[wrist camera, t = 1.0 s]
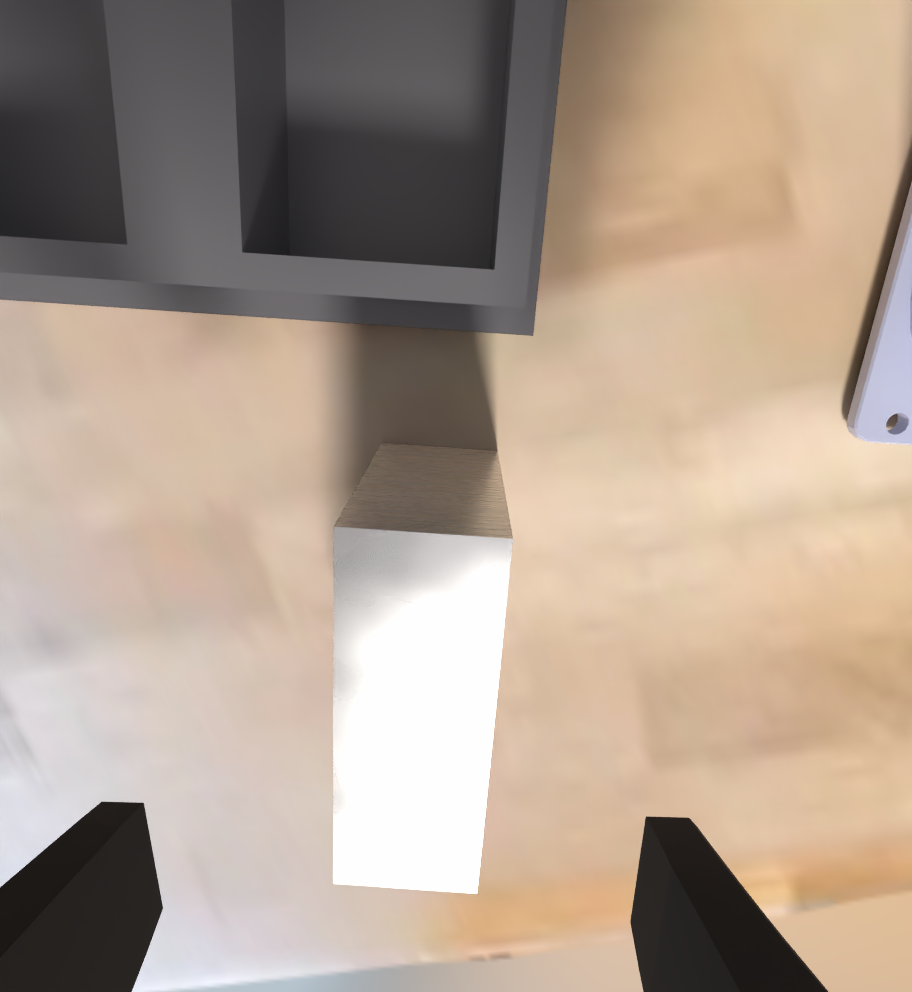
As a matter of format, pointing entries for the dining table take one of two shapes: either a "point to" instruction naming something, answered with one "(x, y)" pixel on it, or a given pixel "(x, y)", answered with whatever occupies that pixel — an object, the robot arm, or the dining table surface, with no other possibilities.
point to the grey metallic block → (417, 665)
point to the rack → (280, 157)
